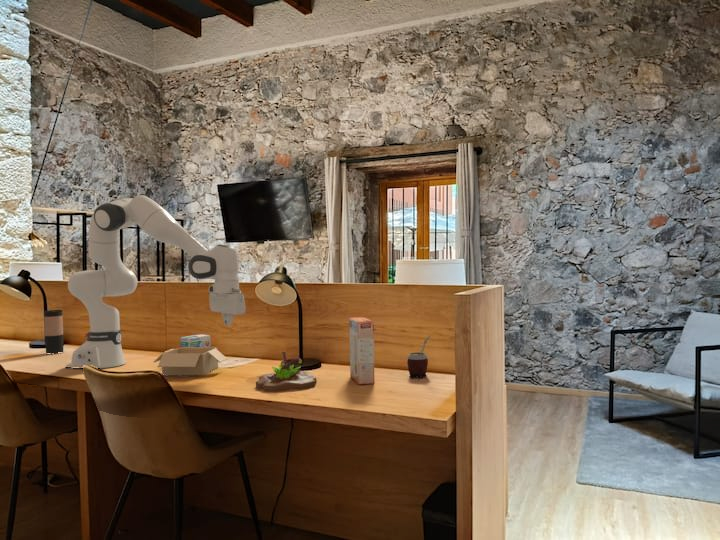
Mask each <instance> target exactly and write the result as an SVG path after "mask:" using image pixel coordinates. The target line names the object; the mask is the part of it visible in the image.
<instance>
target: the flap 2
mask: <svg viewBox="0 0 720 540" xmlns="http://www.w3.org/2000/svg"><path fill="white" fill-rule="evenodd" d="M216 348H217V347H216ZM216 348H215V349H213V350H211V351H208V353H209V354H210V355H211V356H212V357H213V358H214V359H216V360H217V361H218V364H219V363H222V362H224V361H226V360H228V357H226V356H225V355H224V354H223V353H222V352H220V351H219V349H218V350H217V349H216Z"/></svg>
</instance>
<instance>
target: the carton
mask: <svg viewBox="0 0 720 540" xmlns="http://www.w3.org/2000/svg"><path fill="white" fill-rule="evenodd" d="M215 348H216V349H217V350H218V351H219V349H218V347H216V346H211V347H178V348H171V349H167V350H165V351H164V352H162V353H160V354H159V356H158V357H156V359H154V361H153V363H157V362H160V360H161V358H162V355H163V353H200V356H199V358H198V361H197V363H196V366H195V367H161V375H162V374H164V375H165V376H166V377H168V375H203V376H202V377H204V375H205V376H206V375H209V374H210V373H212V372H214V371H216V370H218V369H219V362H218V361H217V360H216V359H214V358H213V357H212V356H211V355H210V354H209V353H208V351H211V350H213V349H215ZM217 368H218V369H217ZM215 369H216V370H215ZM213 370H214V371H213ZM211 371H212V372H211ZM209 372H210V373H209Z"/></svg>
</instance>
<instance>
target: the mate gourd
mask: <svg viewBox="0 0 720 540" xmlns="http://www.w3.org/2000/svg"><path fill="white" fill-rule="evenodd" d="M433 335H434V334H431V335H428V336H427V337H426V338H425V339H424V342H423V344H422V345H423V346H422V349H421V351H420V352H411V353H409V354H408V357H407V367H408V372H409V379H411V378H418V379H423V377H427V370H428V366H429V365H428V364H429V360H428V356H427V355H426V353H425V352H424V350H425V347H426V344H427V342H428V340H429V339H431V337H432V336H433Z"/></svg>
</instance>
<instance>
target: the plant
mask: <svg viewBox="0 0 720 540" xmlns="http://www.w3.org/2000/svg"><path fill="white" fill-rule="evenodd" d="M281 355H282V356H283V357H282V358H283V359H282V361H281V363H280V365H278V367H275V366H271V368H272V370H273V372H274V373H268V374H267V373H266V374H263V375H260V376H259V377H258V381H255V387H256V388H257V390H260V391H263V392H270V393H275V392H284V391H285V392H286V391H298V390H300V391H301V390H306V389H307V390H308V389H311V388H315V387H316V384H317V377H316V376H314V375H313V374H312V373H310V372H308V371H304V370H303V369H300V368H301V366H298V367H295V368H294V364H293V363H294V362H295V361H297V362H298V364H302V363H303V359H301V358H297V357H296V358H293V359H292V360H290V361H289V362H288V361H287V357H286V355H287V352H286V351H285V350H283V351H282V352H281Z"/></svg>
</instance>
